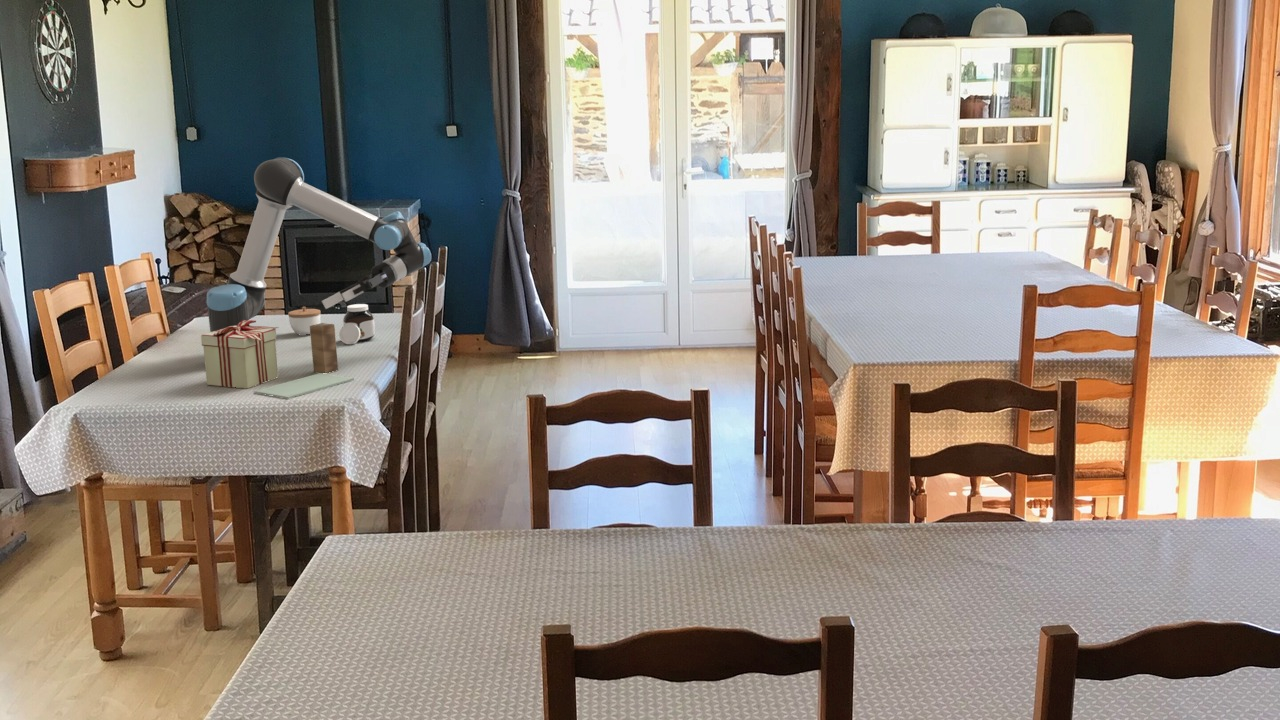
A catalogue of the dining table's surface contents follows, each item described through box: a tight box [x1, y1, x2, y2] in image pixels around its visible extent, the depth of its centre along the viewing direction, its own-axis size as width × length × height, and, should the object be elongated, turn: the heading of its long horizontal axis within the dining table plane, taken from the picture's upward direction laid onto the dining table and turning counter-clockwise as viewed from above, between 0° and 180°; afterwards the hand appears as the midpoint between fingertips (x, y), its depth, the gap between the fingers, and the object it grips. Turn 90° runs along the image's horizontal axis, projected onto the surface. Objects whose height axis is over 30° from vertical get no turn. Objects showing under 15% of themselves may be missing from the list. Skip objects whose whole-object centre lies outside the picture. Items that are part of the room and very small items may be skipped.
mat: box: [254, 373, 355, 399], centre depth 346 cm, size 24×14×1 cm, turn 146°
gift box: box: [200, 319, 280, 389], centre depth 353 cm, size 17×18×17 cm
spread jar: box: [338, 303, 376, 345], centre depth 405 cm, size 12×11×12 cm
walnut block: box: [309, 322, 339, 374], centre depth 363 cm, size 5×5×14 cm
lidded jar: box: [287, 306, 322, 336], centre depth 421 cm, size 11×11×9 cm
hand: (333, 301), depth 369 cm, fingers open, 13 cm apart
